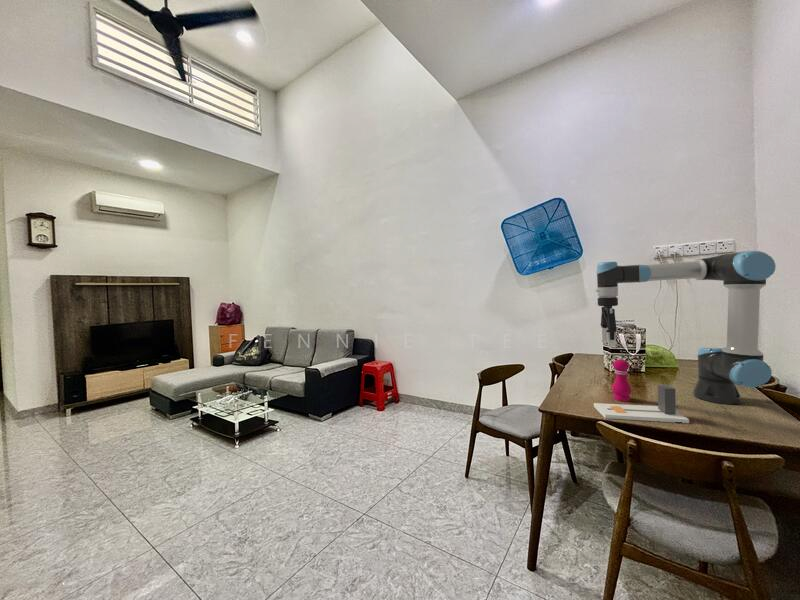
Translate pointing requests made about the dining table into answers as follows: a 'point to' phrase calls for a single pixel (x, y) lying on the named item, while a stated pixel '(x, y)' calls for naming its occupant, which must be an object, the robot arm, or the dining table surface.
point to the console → (638, 413)
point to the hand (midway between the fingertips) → (608, 344)
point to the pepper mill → (621, 381)
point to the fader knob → (666, 399)
